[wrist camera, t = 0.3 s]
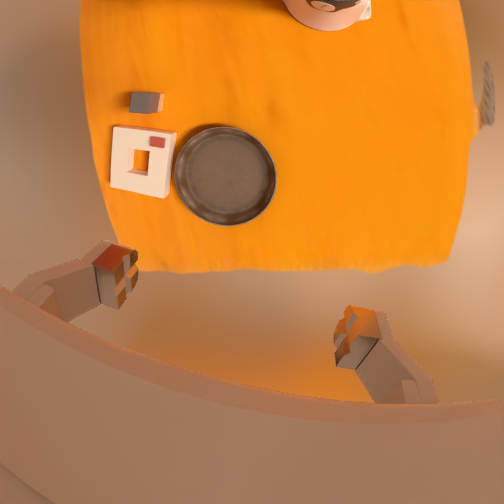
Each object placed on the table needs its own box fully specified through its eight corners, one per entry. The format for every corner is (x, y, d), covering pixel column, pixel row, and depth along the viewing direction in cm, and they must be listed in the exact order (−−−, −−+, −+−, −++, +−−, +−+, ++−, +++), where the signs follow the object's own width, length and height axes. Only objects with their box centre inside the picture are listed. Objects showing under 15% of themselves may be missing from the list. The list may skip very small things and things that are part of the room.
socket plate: (121, 125, 52) (111, 127, 49) (176, 132, 52) (169, 134, 49) (117, 182, 59) (108, 187, 56) (169, 193, 59) (162, 199, 56)
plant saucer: (261, 232, 61) (259, 239, 58) (173, 206, 61) (167, 211, 58) (290, 141, 51) (290, 144, 48) (190, 115, 50) (184, 116, 47)
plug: (148, 92, 48) (131, 92, 42) (165, 93, 48) (149, 93, 42) (146, 109, 50) (129, 112, 44) (162, 111, 50) (146, 113, 44)
